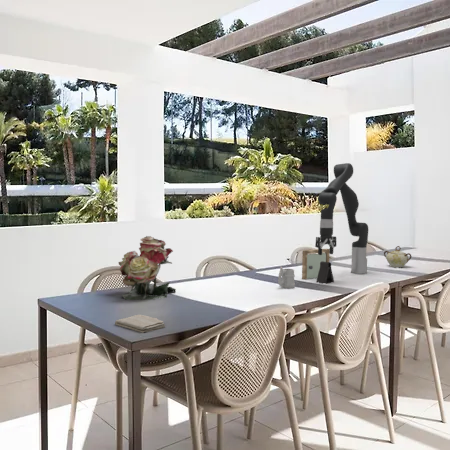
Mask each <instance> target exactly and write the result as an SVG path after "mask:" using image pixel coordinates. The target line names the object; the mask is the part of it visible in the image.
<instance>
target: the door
mask: <svg viewBox="0 0 450 450" xmlns="http://www.w3.org/2000/svg"><path fill="white" fill-rule="evenodd" d="M322 261H323V262H326V253H322V255H319V254H318V253H311V254H307V279H306V280H309V279H317V277H318V273H319V269H320V262H322Z"/></svg>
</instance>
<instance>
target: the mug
mask: <svg viewBox="0 0 450 450" xmlns="http://www.w3.org/2000/svg"><path fill="white" fill-rule="evenodd" d="M279 267H280V270H279V273H278V277H277V282H278V285H279V287H281V288H283V289H294V288H295V285H296V283H295V277H296V275H295V269H294V268H283V267H282V266H279Z"/></svg>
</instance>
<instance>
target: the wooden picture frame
mask: <svg viewBox="0 0 450 450" xmlns="http://www.w3.org/2000/svg"><path fill="white" fill-rule="evenodd" d="M321 249H322V253H326V262H330V253H329V252H330V248H321ZM307 254H318V248H317V249H303V250H302V257H301V258H302V260H301V261H302V263H301V264H302V266H301V279H302V280H308V279H307Z"/></svg>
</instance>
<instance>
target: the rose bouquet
mask: <svg viewBox="0 0 450 450" xmlns="http://www.w3.org/2000/svg"><path fill="white" fill-rule="evenodd" d="M140 241H141V242H139V246H140V247H138V250H139V254H138V252H137V251H136V250H132V251H131V250H130V251H128V252H127V253H125V254H123V257H122V258H121V261H118V265H119V271H120V273H121V276H123V279H122V284H123V285H125V286H126V287H131V289H130V291H128V292H127V293H125V294H122V297H123V299H124V301H129V300H130V301H139V300H153V301H155V300H156V299H167V297H168V293H169V292H174V293H176V291H177V290H176V288H174V287H172V286H169V284H170V283H171V281H168V282H166V283H163V284H160V285H157V276H158V274H159V272H160V270H161V265H165V264H169V265H170V264H173V262H172V261H169V260H168V258H169V255H170V254H171V253H173V252H174V250H173V249H172V248H165V246H166V245H167V243H166V241H164V240H162V239H158V238H154V237H153V236H151V235H146V236H144V237H142V238H140ZM151 282H153V284H151Z"/></svg>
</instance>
